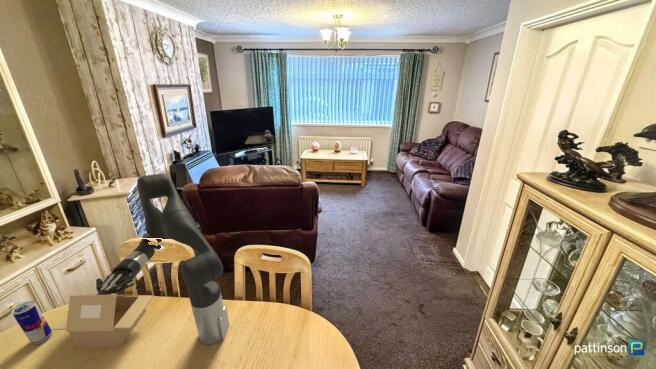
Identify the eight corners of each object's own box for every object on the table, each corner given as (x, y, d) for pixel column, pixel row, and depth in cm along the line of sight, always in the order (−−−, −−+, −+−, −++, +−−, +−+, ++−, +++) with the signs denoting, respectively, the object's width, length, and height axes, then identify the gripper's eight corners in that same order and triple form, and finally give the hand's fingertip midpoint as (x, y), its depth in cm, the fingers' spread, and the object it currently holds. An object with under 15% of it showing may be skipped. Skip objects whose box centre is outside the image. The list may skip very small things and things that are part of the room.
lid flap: (116, 294, 82) (115, 295, 82) (112, 330, 81) (111, 330, 80) (71, 295, 81) (69, 295, 81) (67, 330, 80) (65, 331, 79)
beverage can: (39, 347, 83) (18, 315, 77) (27, 343, 84) (6, 311, 78) (57, 333, 88) (39, 301, 82) (45, 330, 89) (27, 298, 83)
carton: (159, 310, 97) (154, 294, 94) (136, 346, 84) (128, 328, 81) (95, 311, 96) (87, 295, 93) (60, 347, 83) (50, 330, 80)
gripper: (110, 258, 96) (70, 293, 81) (146, 257, 97) (113, 293, 81) (116, 273, 99) (78, 310, 84) (151, 272, 100) (120, 309, 84)
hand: (96, 301), depth 82 cm, fingers closed
